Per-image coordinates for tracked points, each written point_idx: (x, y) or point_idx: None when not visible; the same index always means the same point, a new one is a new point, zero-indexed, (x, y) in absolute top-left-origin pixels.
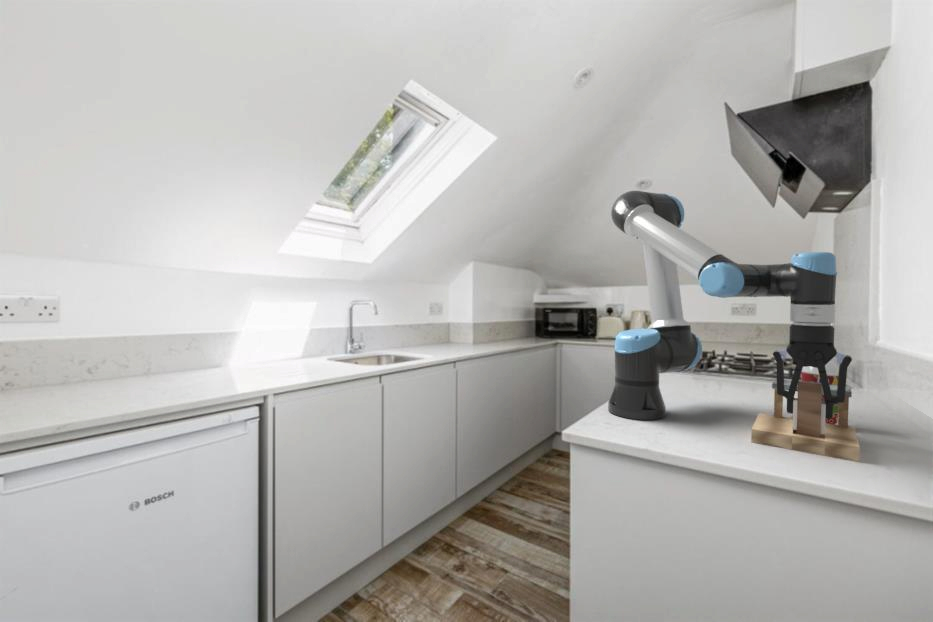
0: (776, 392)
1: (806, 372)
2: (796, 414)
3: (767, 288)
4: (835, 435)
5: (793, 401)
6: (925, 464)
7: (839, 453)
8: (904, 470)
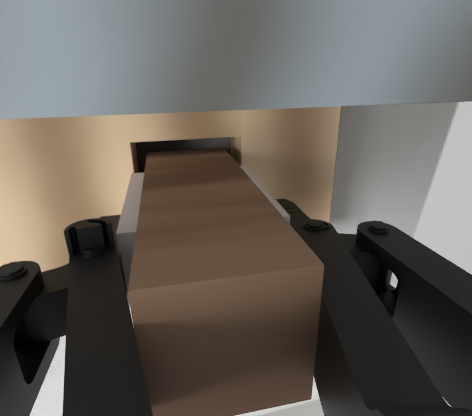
0: None
1: None
2: None
3: None
4: (274, 156)
5: (129, 302)
6: (450, 126)
7: None
8: (387, 219)
